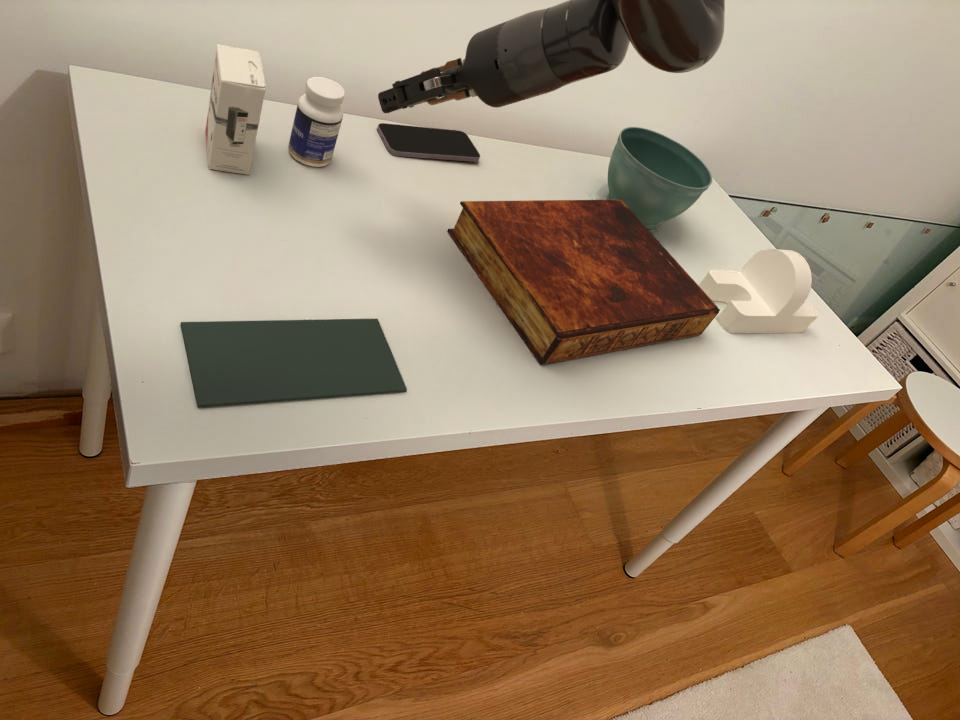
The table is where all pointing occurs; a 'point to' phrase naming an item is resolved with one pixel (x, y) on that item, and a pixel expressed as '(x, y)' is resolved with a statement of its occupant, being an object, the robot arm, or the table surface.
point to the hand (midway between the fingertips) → (407, 98)
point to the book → (579, 276)
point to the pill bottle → (317, 122)
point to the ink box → (234, 109)
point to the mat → (288, 360)
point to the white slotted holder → (764, 294)
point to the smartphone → (427, 142)
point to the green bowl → (655, 175)
